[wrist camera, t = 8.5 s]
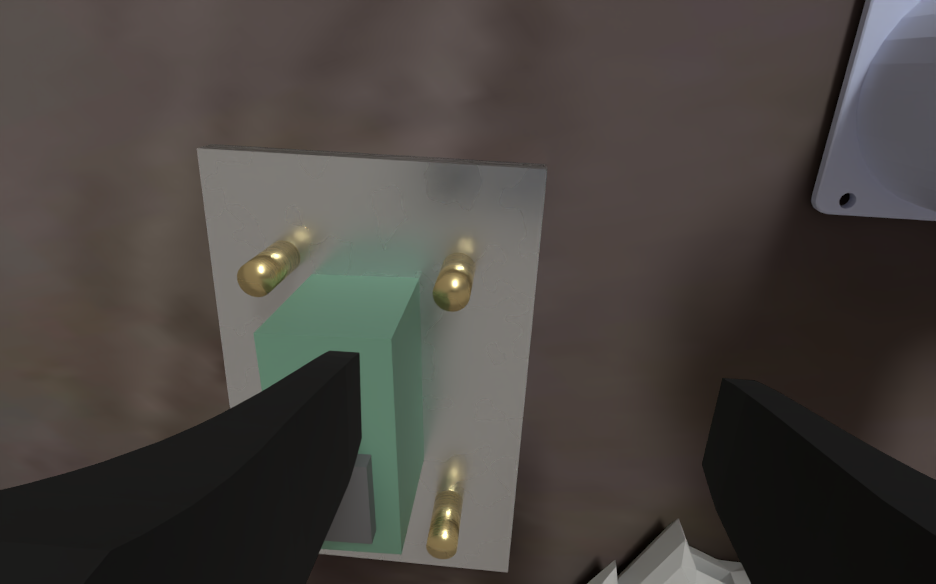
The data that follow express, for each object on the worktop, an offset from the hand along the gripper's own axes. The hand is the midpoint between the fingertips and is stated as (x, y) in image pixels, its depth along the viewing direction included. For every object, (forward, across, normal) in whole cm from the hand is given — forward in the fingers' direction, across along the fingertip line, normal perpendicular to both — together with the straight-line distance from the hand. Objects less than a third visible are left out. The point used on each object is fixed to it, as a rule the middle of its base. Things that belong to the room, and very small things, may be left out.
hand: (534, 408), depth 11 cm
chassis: (+10, +5, +6) cm, 13 cm away
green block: (+10, +6, +5) cm, 12 cm away
